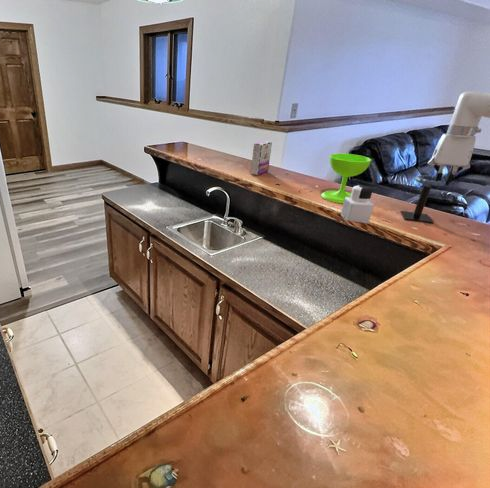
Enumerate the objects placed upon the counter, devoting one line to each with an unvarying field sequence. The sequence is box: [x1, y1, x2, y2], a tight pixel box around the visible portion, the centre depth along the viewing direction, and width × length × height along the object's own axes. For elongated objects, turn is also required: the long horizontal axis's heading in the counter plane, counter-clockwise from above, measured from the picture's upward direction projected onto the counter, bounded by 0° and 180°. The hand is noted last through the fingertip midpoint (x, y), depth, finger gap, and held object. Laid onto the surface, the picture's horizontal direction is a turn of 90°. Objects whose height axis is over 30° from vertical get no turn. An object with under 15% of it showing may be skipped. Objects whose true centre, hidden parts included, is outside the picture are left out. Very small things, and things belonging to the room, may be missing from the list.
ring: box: [415, 174, 447, 187], centre depth 127 cm, size 9×9×2 cm
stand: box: [400, 184, 434, 225], centre depth 131 cm, size 9×9×14 cm
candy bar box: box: [250, 140, 273, 176], centre depth 188 cm, size 11×5×16 cm, turn 136°
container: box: [340, 184, 375, 224], centre depth 130 cm, size 8×8×13 cm
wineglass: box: [320, 153, 372, 205], centre depth 152 cm, size 16×16×18 cm
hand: (441, 183), depth 126 cm, fingers closed on ring, 2 cm apart
